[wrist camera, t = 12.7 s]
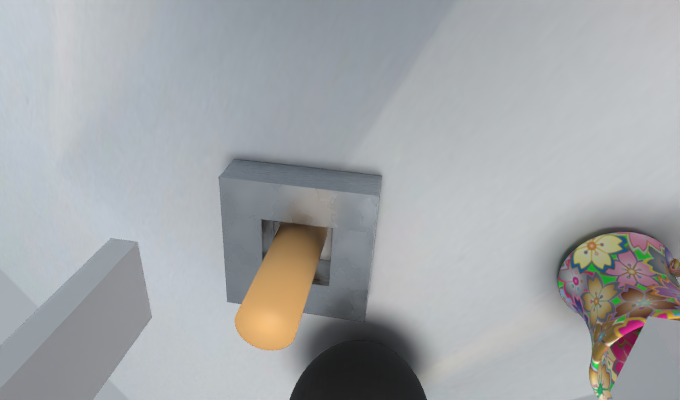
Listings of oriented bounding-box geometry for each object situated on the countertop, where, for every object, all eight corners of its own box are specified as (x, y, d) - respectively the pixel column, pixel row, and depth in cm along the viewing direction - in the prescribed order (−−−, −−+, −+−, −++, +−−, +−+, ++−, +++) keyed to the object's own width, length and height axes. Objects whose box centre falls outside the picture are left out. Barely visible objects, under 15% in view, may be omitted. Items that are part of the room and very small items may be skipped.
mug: (600, 332, 41) (654, 443, 32) (525, 272, 40) (558, 370, 30) (735, 248, 36) (845, 352, 27) (655, 174, 34) (743, 257, 25)
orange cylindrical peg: (281, 207, 40) (233, 298, 30) (328, 212, 40) (296, 307, 29) (281, 246, 42) (236, 345, 32) (326, 252, 42) (295, 354, 31)
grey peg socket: (234, 159, 39) (219, 177, 36) (381, 176, 37) (378, 195, 34) (240, 277, 44) (227, 301, 41) (368, 295, 43) (364, 321, 40)
